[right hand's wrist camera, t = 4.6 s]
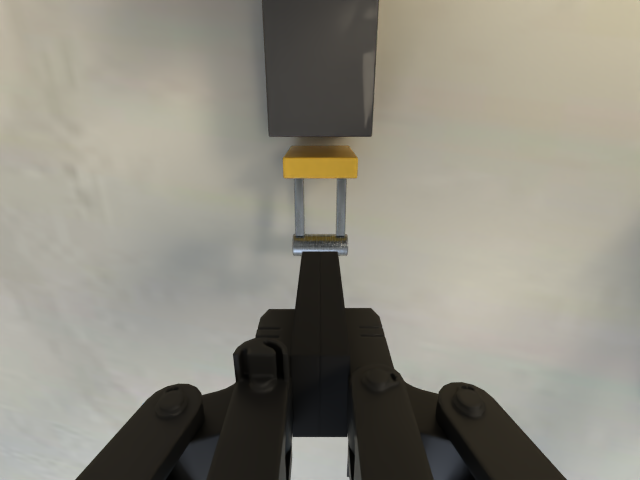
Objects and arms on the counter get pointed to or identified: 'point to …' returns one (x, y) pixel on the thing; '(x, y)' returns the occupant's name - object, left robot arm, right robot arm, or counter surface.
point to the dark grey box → (320, 67)
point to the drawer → (320, 165)
